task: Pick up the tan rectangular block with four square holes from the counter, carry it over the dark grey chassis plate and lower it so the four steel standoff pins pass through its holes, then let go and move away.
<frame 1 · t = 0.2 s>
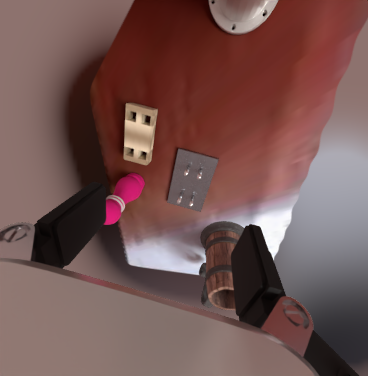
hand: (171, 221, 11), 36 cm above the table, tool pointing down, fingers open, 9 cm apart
tan rectangular block: (142, 134, 46), on the table
pepper mill: (135, 181, 54), on the table
chassis: (190, 181, 50), on the table
tankard: (219, 245, 61), on the table
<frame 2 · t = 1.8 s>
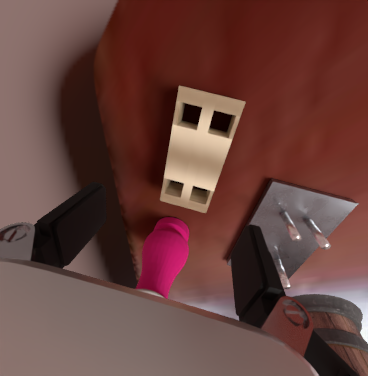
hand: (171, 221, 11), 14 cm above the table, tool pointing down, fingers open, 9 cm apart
tan rectangular block: (197, 151, 23), on the table
pepper mill: (172, 229, 31), on the table
chassis: (278, 235, 27), on the table
tankard: (300, 321, 38), on the table
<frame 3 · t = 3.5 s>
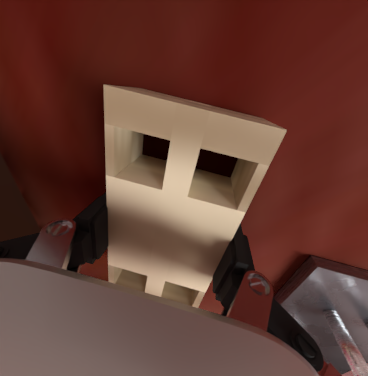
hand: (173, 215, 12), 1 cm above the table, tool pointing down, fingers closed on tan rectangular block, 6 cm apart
tan rectangular block: (176, 207, 12), on the table, touching gripper
chassis: (313, 328, 17), on the table
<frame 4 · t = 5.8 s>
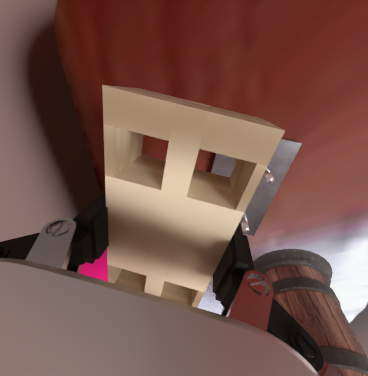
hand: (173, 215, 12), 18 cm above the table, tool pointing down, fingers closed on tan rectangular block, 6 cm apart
tan rectangular block: (175, 207, 12), point 17 cm above the table, touching gripper
pepper mill: (144, 190, 33), on the table
chassis: (240, 186, 29), on the table
tankard: (276, 282, 39), on the table
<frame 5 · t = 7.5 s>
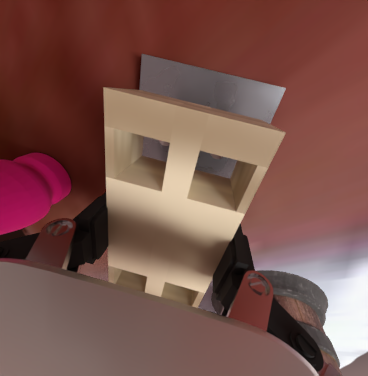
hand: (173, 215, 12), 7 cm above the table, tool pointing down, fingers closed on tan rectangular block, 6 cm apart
tan rectangular block: (176, 208, 12), point 6 cm above the table, touching gripper
pepper mill: (49, 175, 21), on the table
chassis: (188, 172, 18), on the table
tankard: (251, 312, 29), on the table
when the fingers open (4 cm above the table, at t = 8.6 s): tan rectangular block drops 2 cm, resting on chassis.
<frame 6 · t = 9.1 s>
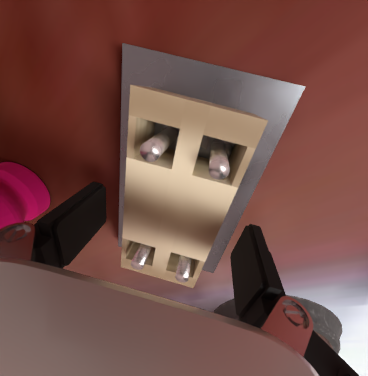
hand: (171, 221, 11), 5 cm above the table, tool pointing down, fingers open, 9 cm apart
tan rectangular block: (180, 191, 14), point 1 cm above the table, touching chassis
pepper mill: (25, 187, 19), on the table
chassis: (183, 186, 15), on the table
tankard: (255, 335, 26), on the table
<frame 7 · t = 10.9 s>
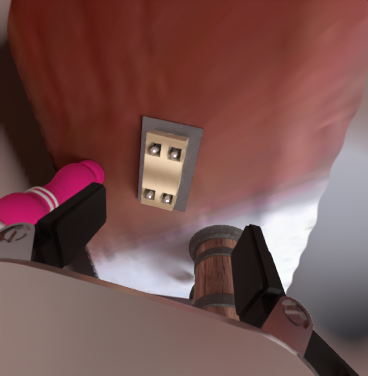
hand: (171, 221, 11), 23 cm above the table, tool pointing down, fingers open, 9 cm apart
tan rectangular block: (165, 169, 34), point 1 cm above the table, touching chassis
pepper mill: (92, 172, 38), on the table
chassis: (167, 167, 35), on the table
tankard: (215, 258, 44), on the table
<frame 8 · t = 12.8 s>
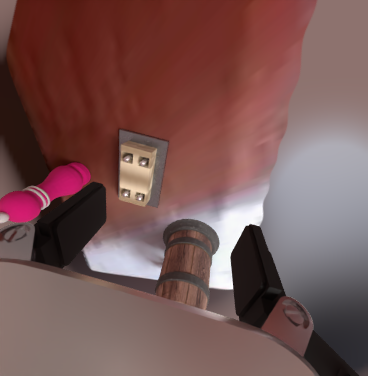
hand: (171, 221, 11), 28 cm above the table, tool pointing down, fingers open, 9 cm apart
tan rectangular block: (140, 172, 41), point 1 cm above the table, touching chassis
pepper mill: (80, 172, 45), on the table
chassis: (141, 171, 42), on the table
tankard: (185, 247, 53), on the table
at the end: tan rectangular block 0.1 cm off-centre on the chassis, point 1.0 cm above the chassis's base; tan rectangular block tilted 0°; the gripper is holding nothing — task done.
